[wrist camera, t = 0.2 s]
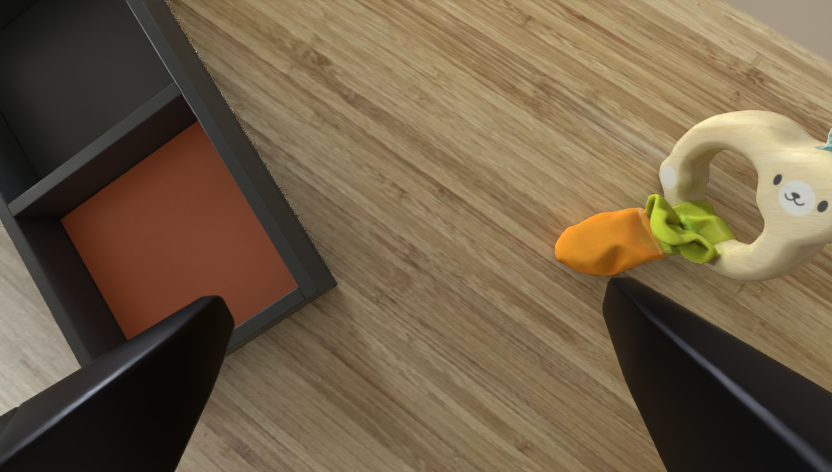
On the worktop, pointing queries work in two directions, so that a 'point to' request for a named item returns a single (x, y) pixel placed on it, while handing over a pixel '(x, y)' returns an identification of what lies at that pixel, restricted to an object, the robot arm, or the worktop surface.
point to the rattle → (695, 217)
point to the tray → (136, 178)
